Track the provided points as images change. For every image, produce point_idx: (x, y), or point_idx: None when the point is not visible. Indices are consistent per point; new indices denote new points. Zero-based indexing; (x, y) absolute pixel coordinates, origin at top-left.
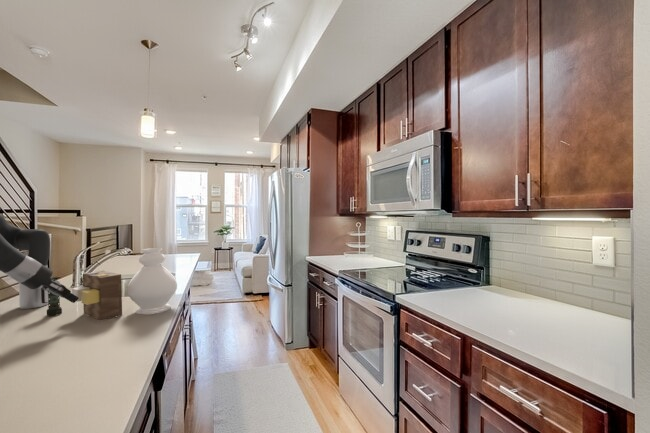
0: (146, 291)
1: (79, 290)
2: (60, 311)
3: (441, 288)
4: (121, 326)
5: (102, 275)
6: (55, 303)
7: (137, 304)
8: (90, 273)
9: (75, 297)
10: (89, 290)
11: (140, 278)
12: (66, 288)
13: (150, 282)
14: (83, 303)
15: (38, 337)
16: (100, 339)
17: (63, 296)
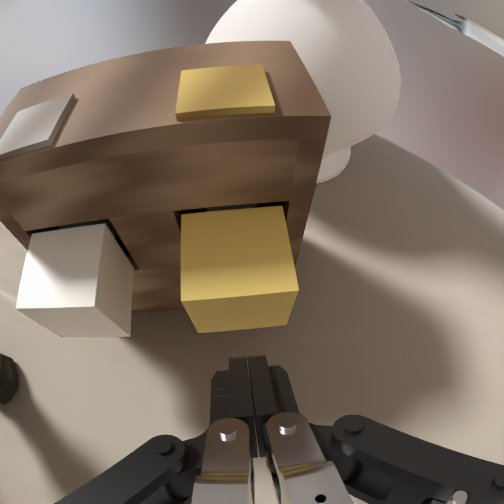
0: (395, 103)
1: (100, 292)
2: (8, 362)
3: (459, 22)
4: (423, 271)
5: (250, 84)
6: None
7: None
8: (30, 131)
9: (286, 379)
10: (215, 251)
11: (365, 48)
12: (457, 455)
13: (395, 62)
14: (228, 330)
15: None
16: (499, 352)
17: (381, 475)
